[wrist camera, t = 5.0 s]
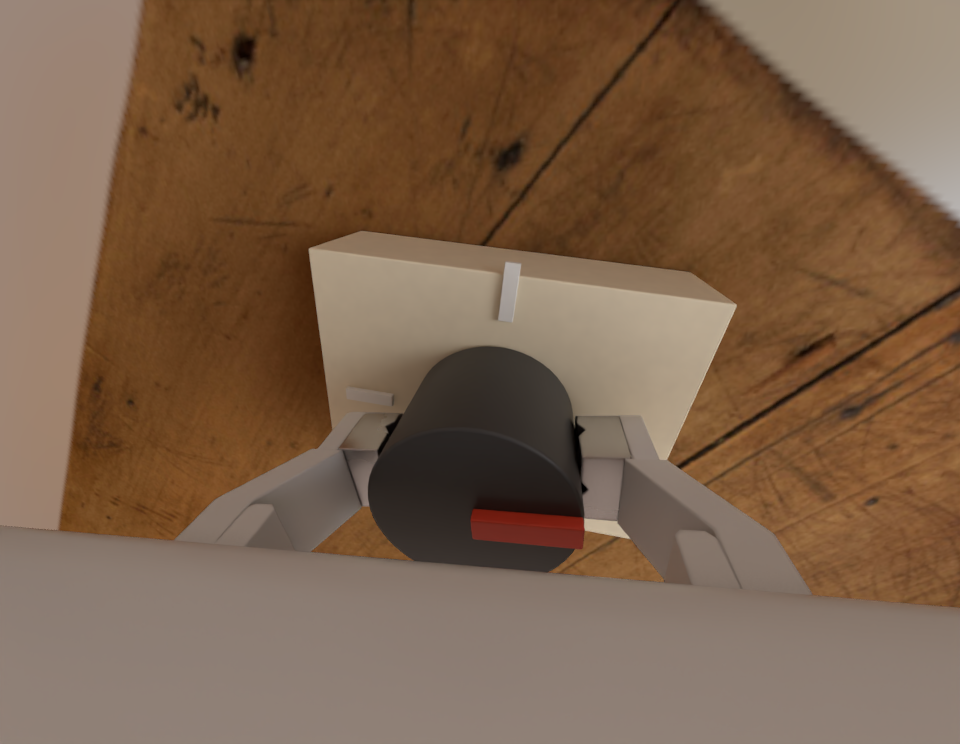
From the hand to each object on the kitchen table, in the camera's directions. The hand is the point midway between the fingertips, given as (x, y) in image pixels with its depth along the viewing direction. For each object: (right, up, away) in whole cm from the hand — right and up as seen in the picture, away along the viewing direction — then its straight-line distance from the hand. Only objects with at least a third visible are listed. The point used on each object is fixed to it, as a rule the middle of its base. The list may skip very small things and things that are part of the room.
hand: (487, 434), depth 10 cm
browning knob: (0, 0, +1) cm, 1 cm away
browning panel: (+1, +2, +3) cm, 4 cm away
